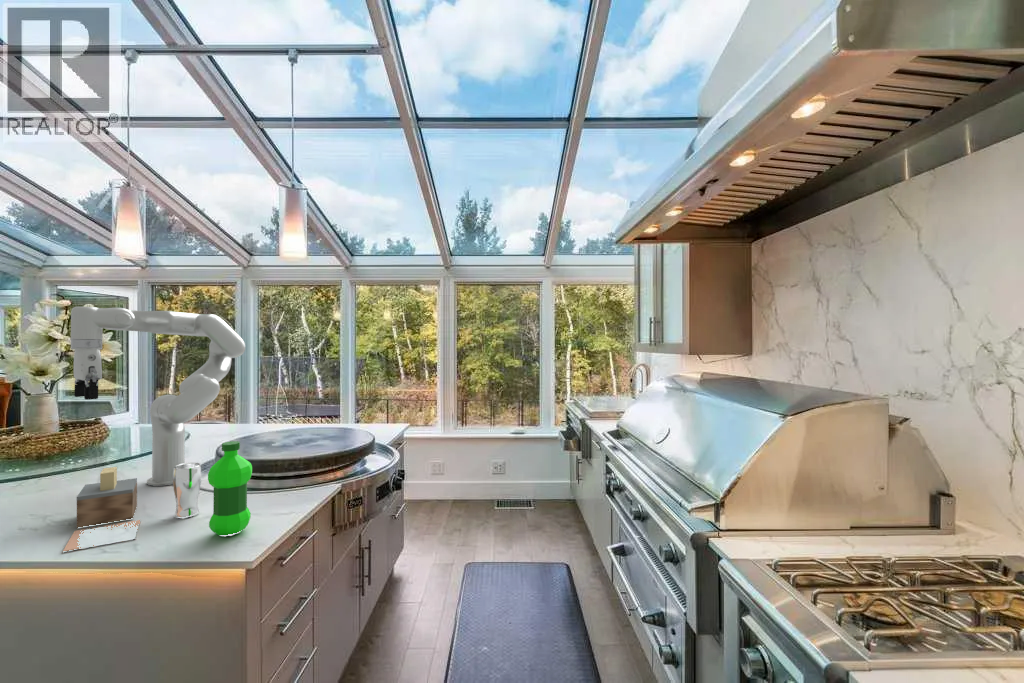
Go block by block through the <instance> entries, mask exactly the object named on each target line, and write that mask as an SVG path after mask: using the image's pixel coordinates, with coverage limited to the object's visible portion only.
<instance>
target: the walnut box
mask: <svg viewBox="0 0 1024 683" xmlns="http://www.w3.org/2000/svg"><path fill="white" fill-rule="evenodd" d="M136 507H138V482H137V483H136V485H135V488H134V491H133V493H127V494H120V495H113V496H106V497H99V498H92V499H85V500H77V499H76V529H77V528H78V527H83V526H89V525H96V524H101V523H108V522H114V521H120V520H126V519H131V518H133V519H134V517H135V514H136V511H137V508H136ZM135 510H136V511H135ZM134 513H135V514H134ZM133 516H134V517H133Z"/></svg>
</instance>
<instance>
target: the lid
mask: <svg viewBox="0 0 1024 683" xmlns="http://www.w3.org/2000/svg"><path fill="white" fill-rule="evenodd" d="M99 474H100V476H99V478H100V479H99V482H97V483H90V484H89V483H88V484H85V485H84V486H83V487H82V489H81V491H80V492H79V493H78V495H76V501H77V500H85V499H92V498H99V497H106V496H113V495H120V494H127V493H133V491H134V488H135V485H136V483H137V484H138V478H137V477H134V478H128V479H120V480H118V467H117V466H113V467H104V468H103V469H102V470H101V472H100V473H99Z"/></svg>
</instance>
